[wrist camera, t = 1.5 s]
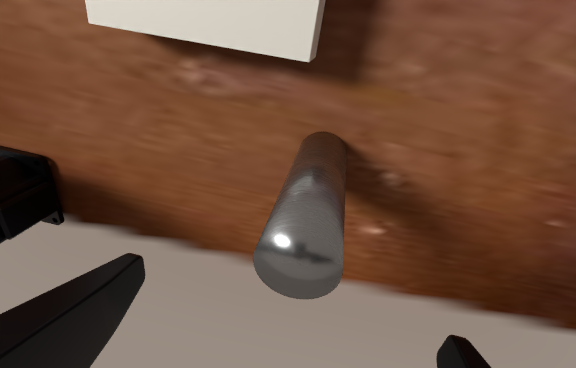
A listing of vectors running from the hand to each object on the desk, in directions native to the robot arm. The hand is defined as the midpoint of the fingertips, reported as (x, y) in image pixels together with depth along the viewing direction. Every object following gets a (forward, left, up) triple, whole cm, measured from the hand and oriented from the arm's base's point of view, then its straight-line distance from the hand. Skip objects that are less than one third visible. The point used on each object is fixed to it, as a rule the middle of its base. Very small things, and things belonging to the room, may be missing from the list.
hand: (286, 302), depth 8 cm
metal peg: (0, 0, -12) cm, 12 cm away
